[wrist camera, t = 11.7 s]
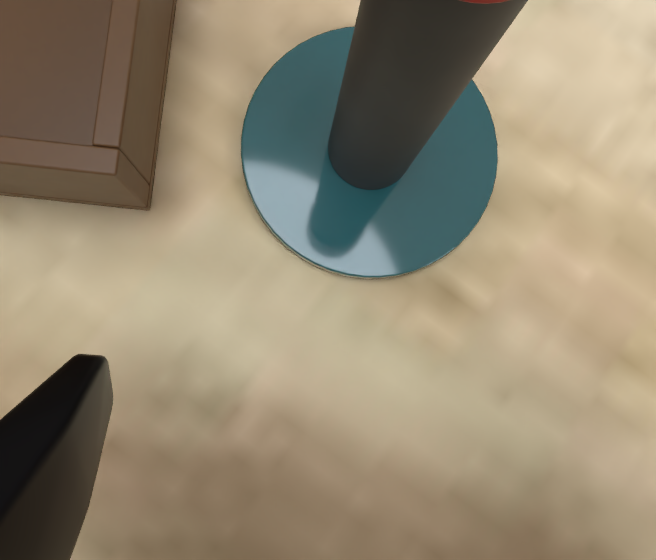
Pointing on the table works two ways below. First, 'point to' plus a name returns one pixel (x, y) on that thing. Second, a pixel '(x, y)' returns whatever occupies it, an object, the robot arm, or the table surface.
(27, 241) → the table surface
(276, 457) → the table surface
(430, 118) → the marker
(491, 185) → the coaster
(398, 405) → the table surface
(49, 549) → the robot arm
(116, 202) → the box
